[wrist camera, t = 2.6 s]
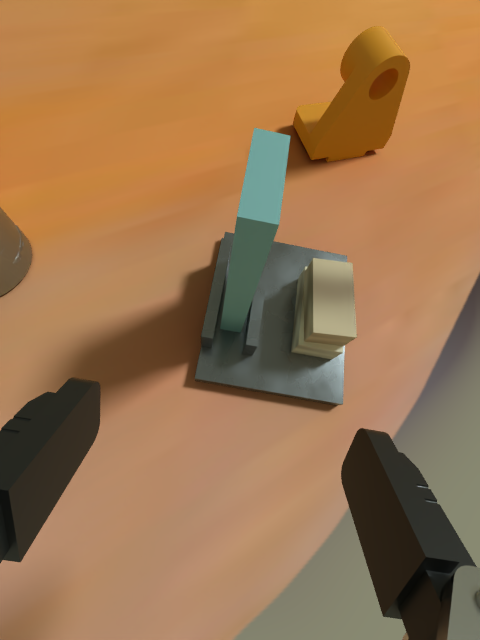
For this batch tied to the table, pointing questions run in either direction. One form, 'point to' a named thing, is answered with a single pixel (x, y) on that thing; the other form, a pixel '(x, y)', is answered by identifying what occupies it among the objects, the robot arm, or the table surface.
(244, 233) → the teal rectangular slab
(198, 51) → the table surface
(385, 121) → the bracket
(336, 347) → the block
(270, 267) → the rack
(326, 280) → the offcut top
